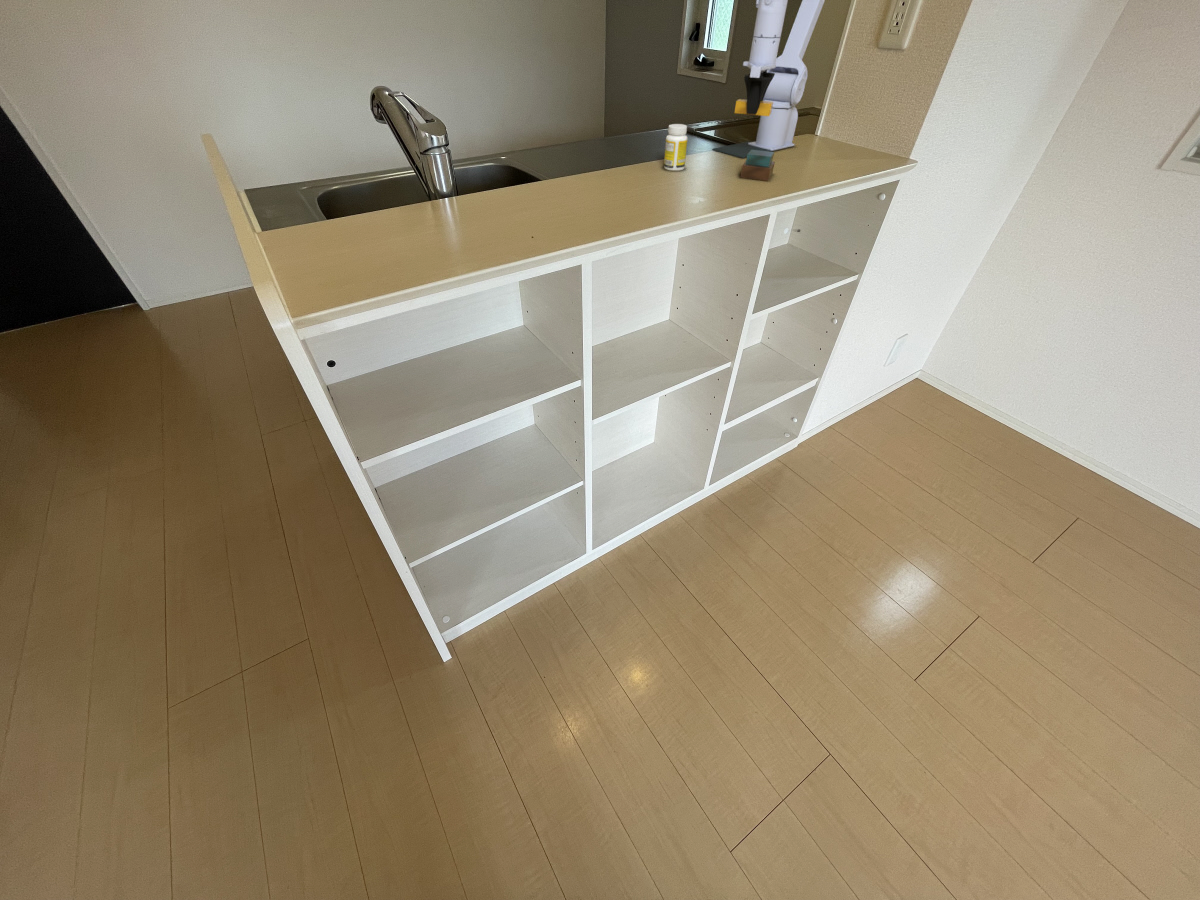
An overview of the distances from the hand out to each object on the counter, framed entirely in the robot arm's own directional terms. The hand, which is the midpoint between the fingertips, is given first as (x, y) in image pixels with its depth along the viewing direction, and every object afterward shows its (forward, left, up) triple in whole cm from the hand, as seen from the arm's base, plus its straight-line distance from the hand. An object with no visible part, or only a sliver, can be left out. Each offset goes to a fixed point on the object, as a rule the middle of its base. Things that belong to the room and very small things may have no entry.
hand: (753, 112), depth 117 cm
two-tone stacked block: (+10, +12, -9) cm, 18 cm away
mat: (-6, -5, -9) cm, 12 cm away
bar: (0, 0, 0) cm, 0 cm away
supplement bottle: (+21, -3, -10) cm, 23 cm away
